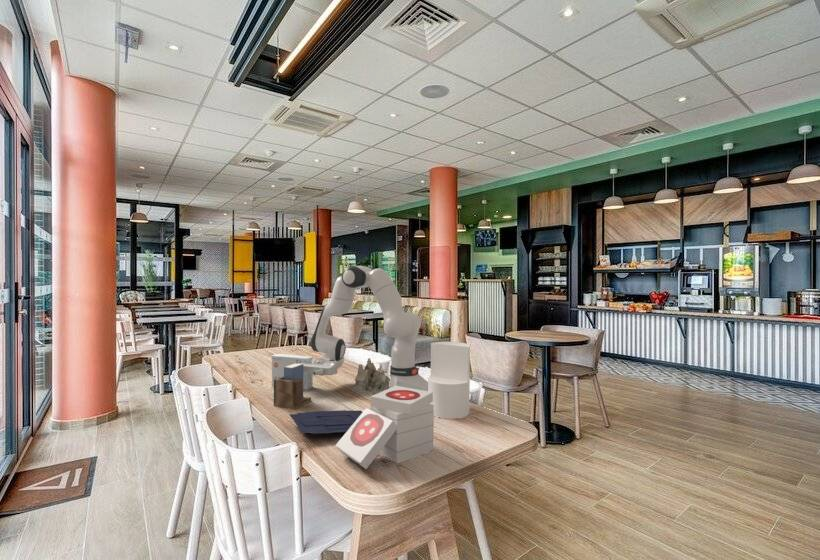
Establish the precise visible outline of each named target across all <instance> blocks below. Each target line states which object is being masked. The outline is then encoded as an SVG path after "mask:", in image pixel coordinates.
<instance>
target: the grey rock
mask: <svg viewBox="0 0 820 560" xmlns="http://www.w3.org/2000/svg"><path fill="white" fill-rule="evenodd" d="M354 381H355V383H354V385H353V387H352V392H354V393H359V394H374V393H375V394H378V393H380V392H382V391H385V390H387V389H389V388H390V381H391V378H390V377H389V376H388V375H386V373H385V370H384V369H382V370H379V369H377V368H376V366H375V364H374V362H372V361H371V358H367V361H366V365H365V367H363V364H361V363H360V364H358V369H357V375H356V376H355V379H354Z"/></svg>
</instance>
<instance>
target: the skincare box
mask: <svg viewBox="0 0 820 560" xmlns="http://www.w3.org/2000/svg"><path fill="white" fill-rule="evenodd" d="M309 362H310V363H313V356H307V355H299V354H298V355H295V354H286V353H283V354H282V353H276V354H273V355H271V386H272V387H274V379H277V378H279V377H284V367H286V366H289V365H292V364H298V363H307V364H308V363H309ZM313 377H314V374H312V373H303V390H307V391H308V390H310V389H311V388H314V387H313V385H314V383H313V379H314V378H313Z"/></svg>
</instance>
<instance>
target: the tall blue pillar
mask: <svg viewBox="0 0 820 560" xmlns="http://www.w3.org/2000/svg"><path fill="white" fill-rule="evenodd" d="M298 379H303V364H292V365H289V366H286V367H284V380H290V381H295V380H298Z"/></svg>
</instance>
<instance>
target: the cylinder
mask: <svg viewBox="0 0 820 560" xmlns="http://www.w3.org/2000/svg"><path fill="white" fill-rule="evenodd" d="M470 351H471V345H470V344H468V343H466V342H459V341H435V342H431V343H430V376H428V377H427V379H428V381H427V382H428V391H429V392H433V402H431V403H430V404H432V405H434V416H436V417H435V418H438V417H441V418H440V419H443V418H459V419H461V418H460V417H463V418H466V417H468V416H469V415H470V393H471V392H470V383H471V382H470V381H471V380H470V376H471V375H470V374H471V373H470V372H471V371H470V368H471V366H470V365H471V363H470V361H471V360H470V359H471V352H470ZM468 414H469V415H468ZM467 415H468V416H467ZM465 416H466V417H465Z"/></svg>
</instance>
